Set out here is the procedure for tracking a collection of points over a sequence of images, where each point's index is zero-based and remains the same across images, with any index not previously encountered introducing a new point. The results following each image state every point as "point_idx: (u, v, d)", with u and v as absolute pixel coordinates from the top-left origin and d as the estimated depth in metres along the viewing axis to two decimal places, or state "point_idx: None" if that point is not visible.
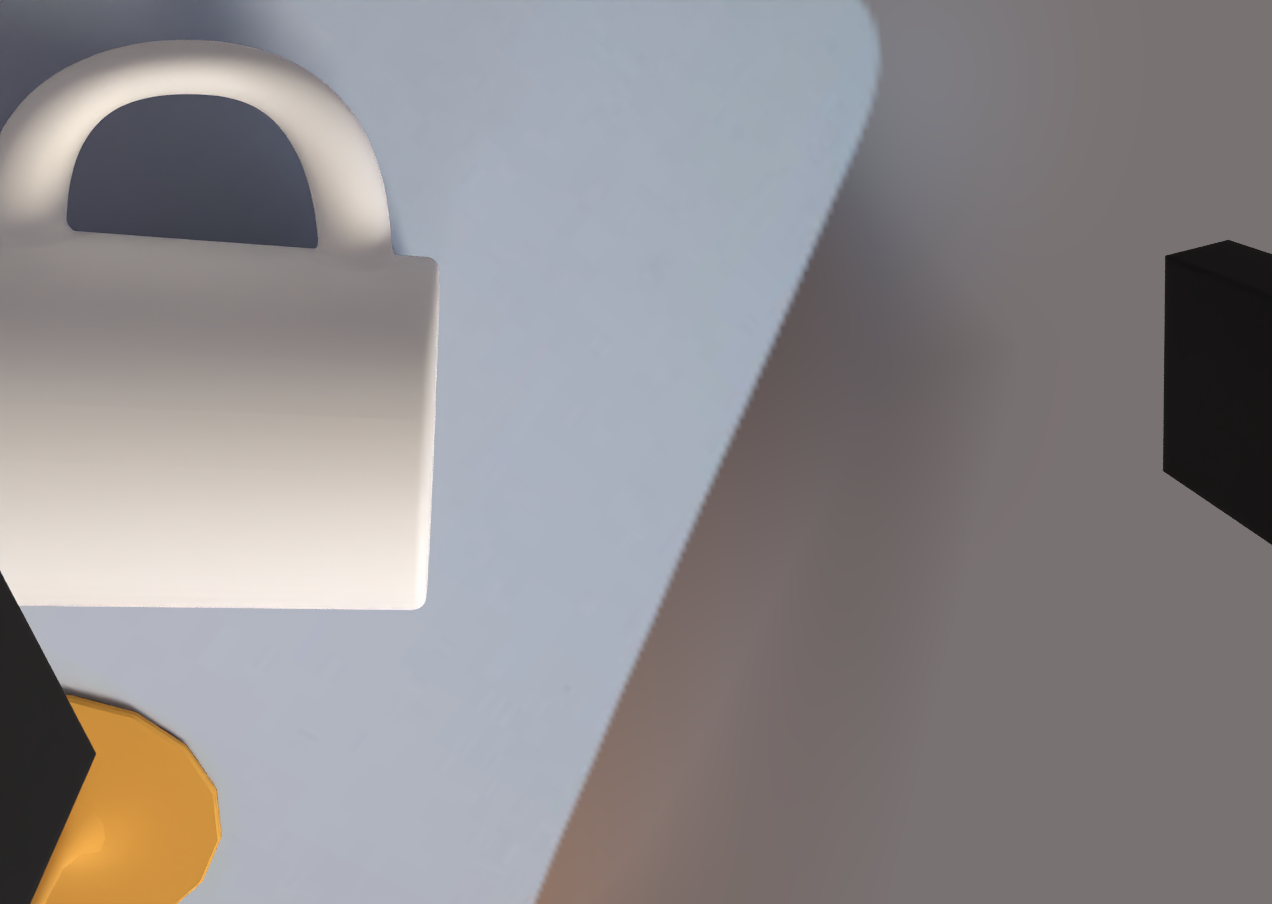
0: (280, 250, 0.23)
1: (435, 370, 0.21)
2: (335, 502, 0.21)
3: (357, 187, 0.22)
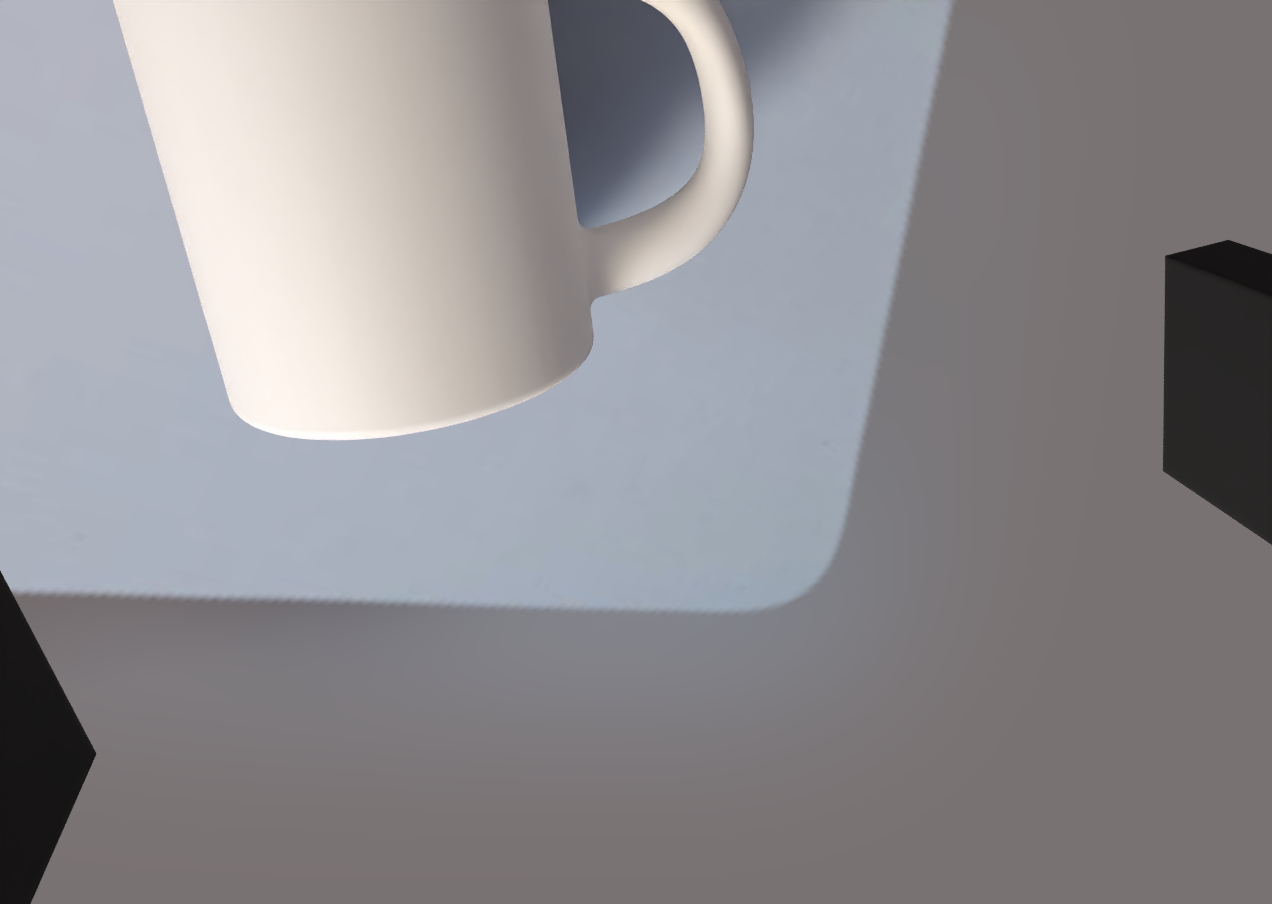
0: None
1: (540, 393, 0.22)
2: (400, 346, 0.20)
3: (658, 263, 0.24)
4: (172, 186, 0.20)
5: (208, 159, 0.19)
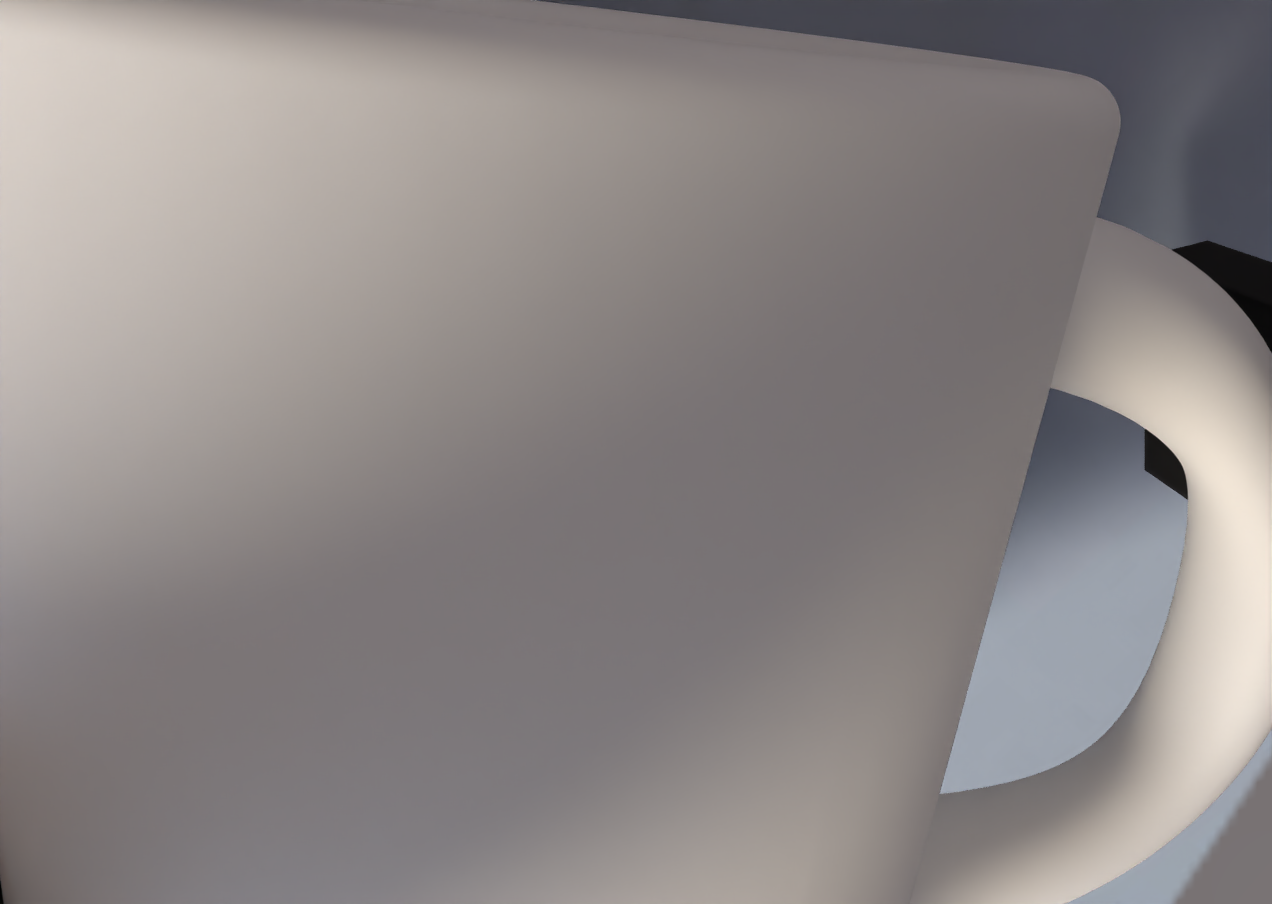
0: None
1: None
2: None
3: None
4: None
5: (80, 817, 0.06)
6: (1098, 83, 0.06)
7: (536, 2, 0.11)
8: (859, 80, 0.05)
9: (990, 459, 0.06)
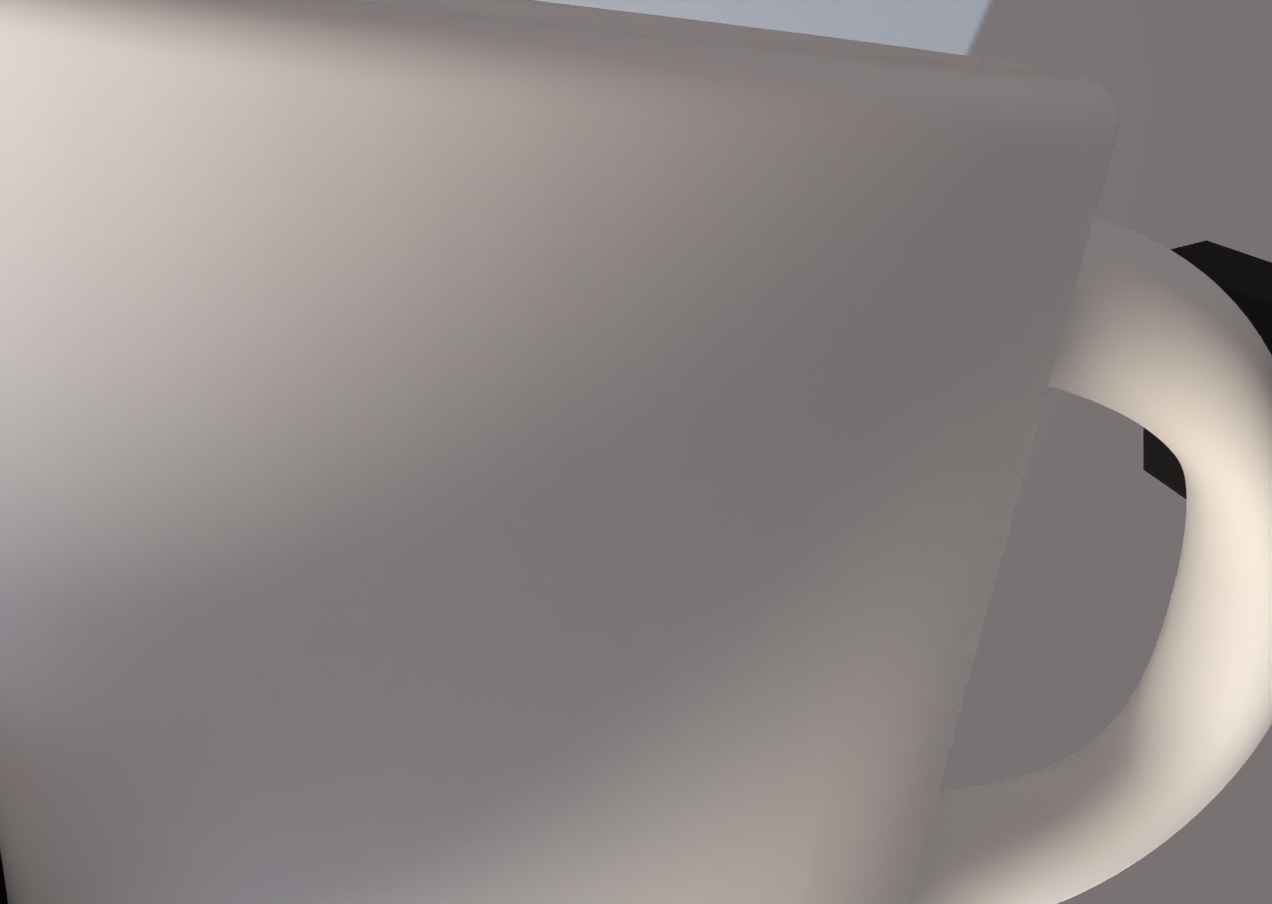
0: None
1: None
2: None
3: None
4: None
5: (85, 813, 0.06)
6: (1096, 83, 0.06)
7: (537, 2, 0.11)
8: (855, 78, 0.05)
9: (988, 455, 0.06)
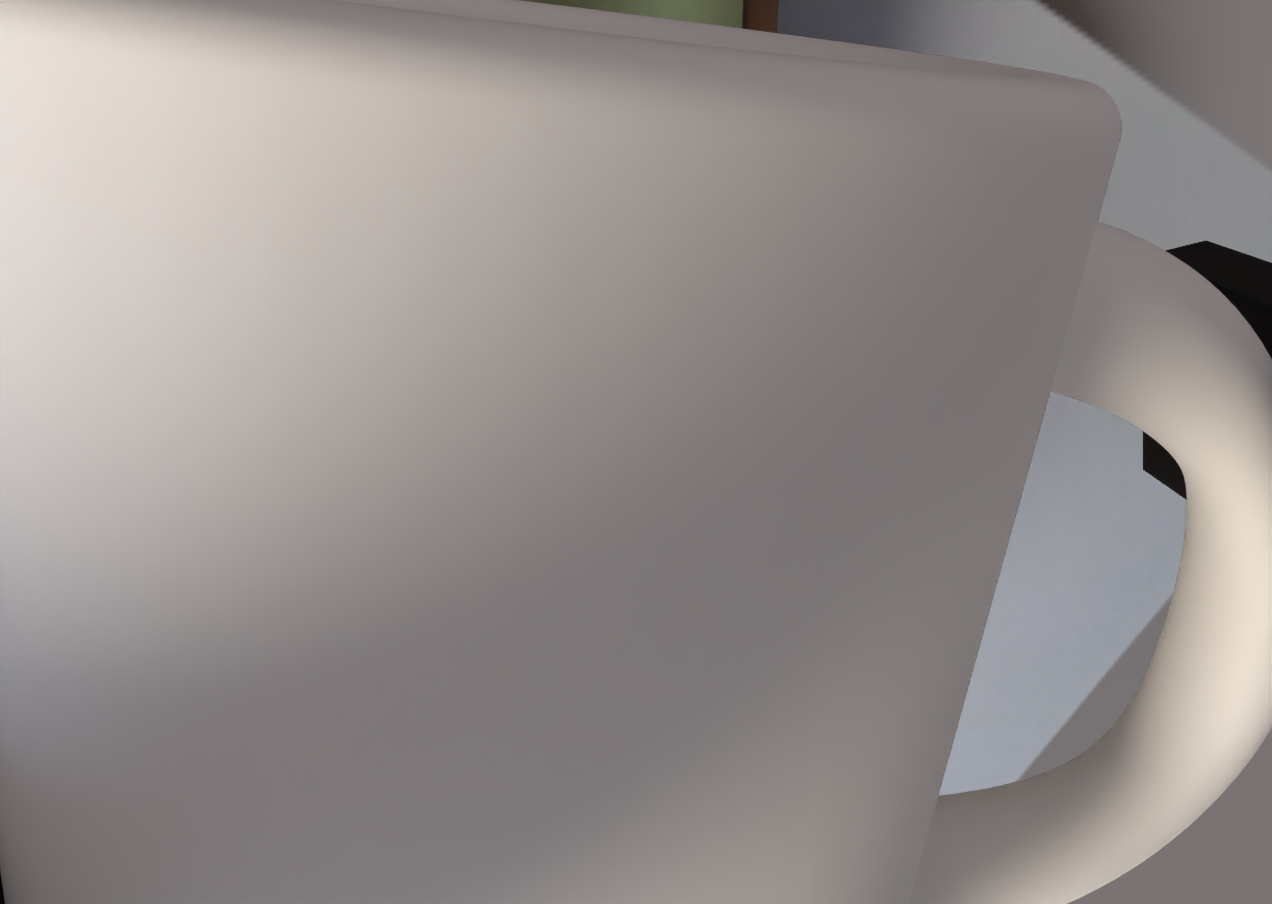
0: None
1: None
2: None
3: None
4: None
5: (83, 816, 0.06)
6: (1100, 88, 0.06)
7: (539, 4, 0.11)
8: (862, 84, 0.05)
9: (990, 460, 0.06)
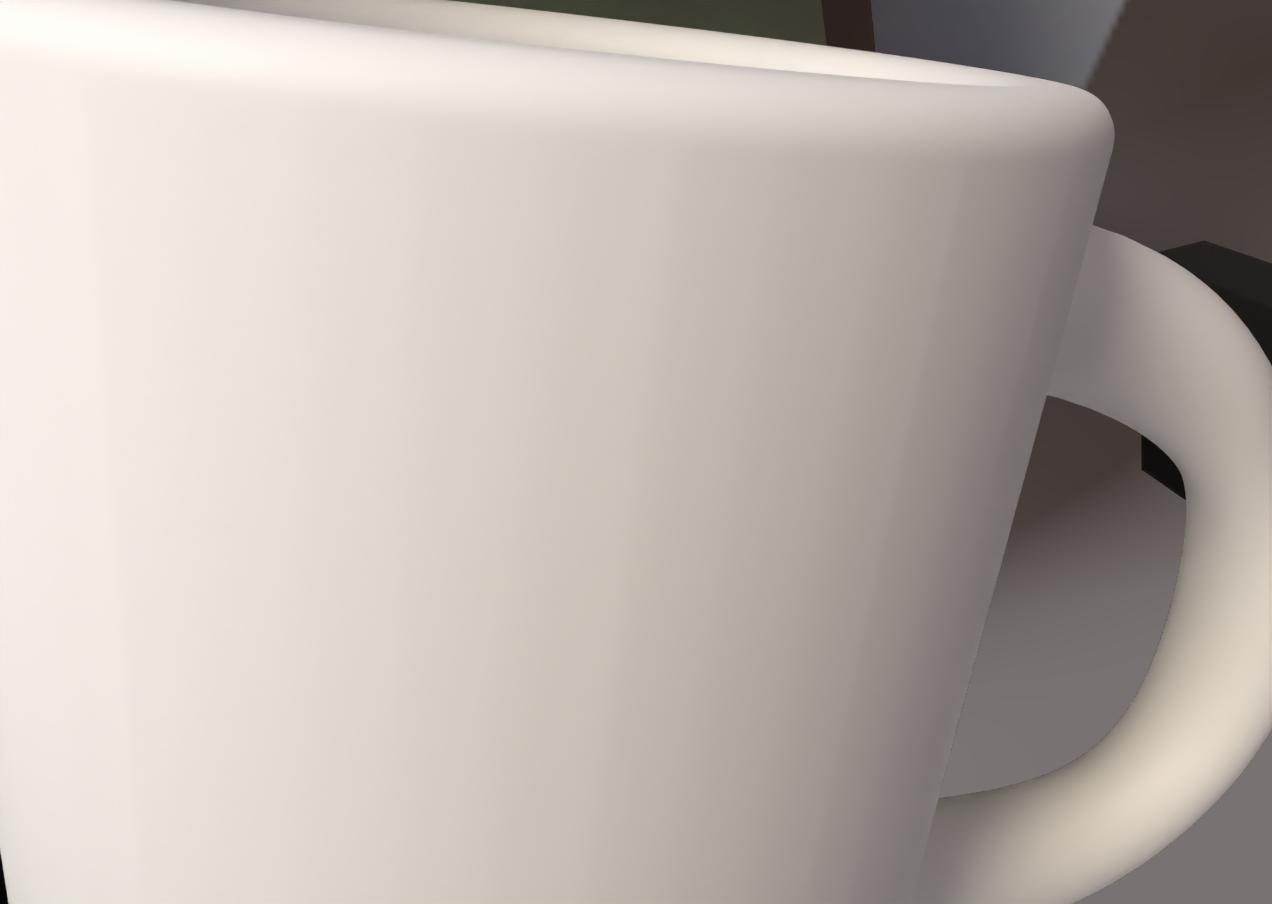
0: None
1: None
2: None
3: None
4: None
5: (85, 828, 0.06)
6: (1092, 97, 0.06)
7: (535, 11, 0.11)
8: (850, 100, 0.05)
9: (985, 471, 0.06)
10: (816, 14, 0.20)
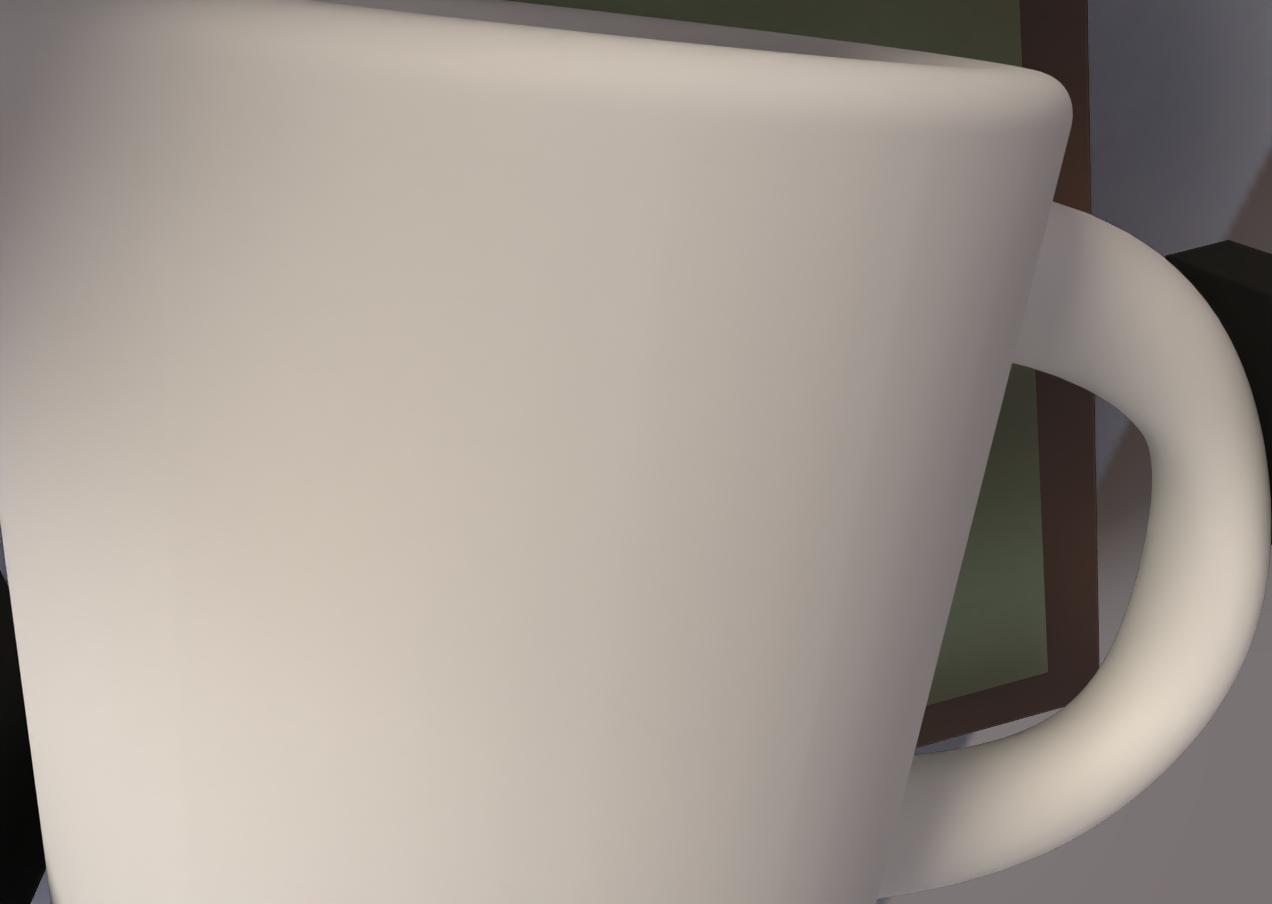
0: None
1: None
2: None
3: (992, 870, 0.12)
4: (27, 706, 0.08)
5: (128, 757, 0.07)
6: (1051, 79, 0.07)
7: (532, 5, 0.11)
8: (829, 77, 0.05)
9: (954, 421, 0.07)
10: (1011, 21, 0.13)
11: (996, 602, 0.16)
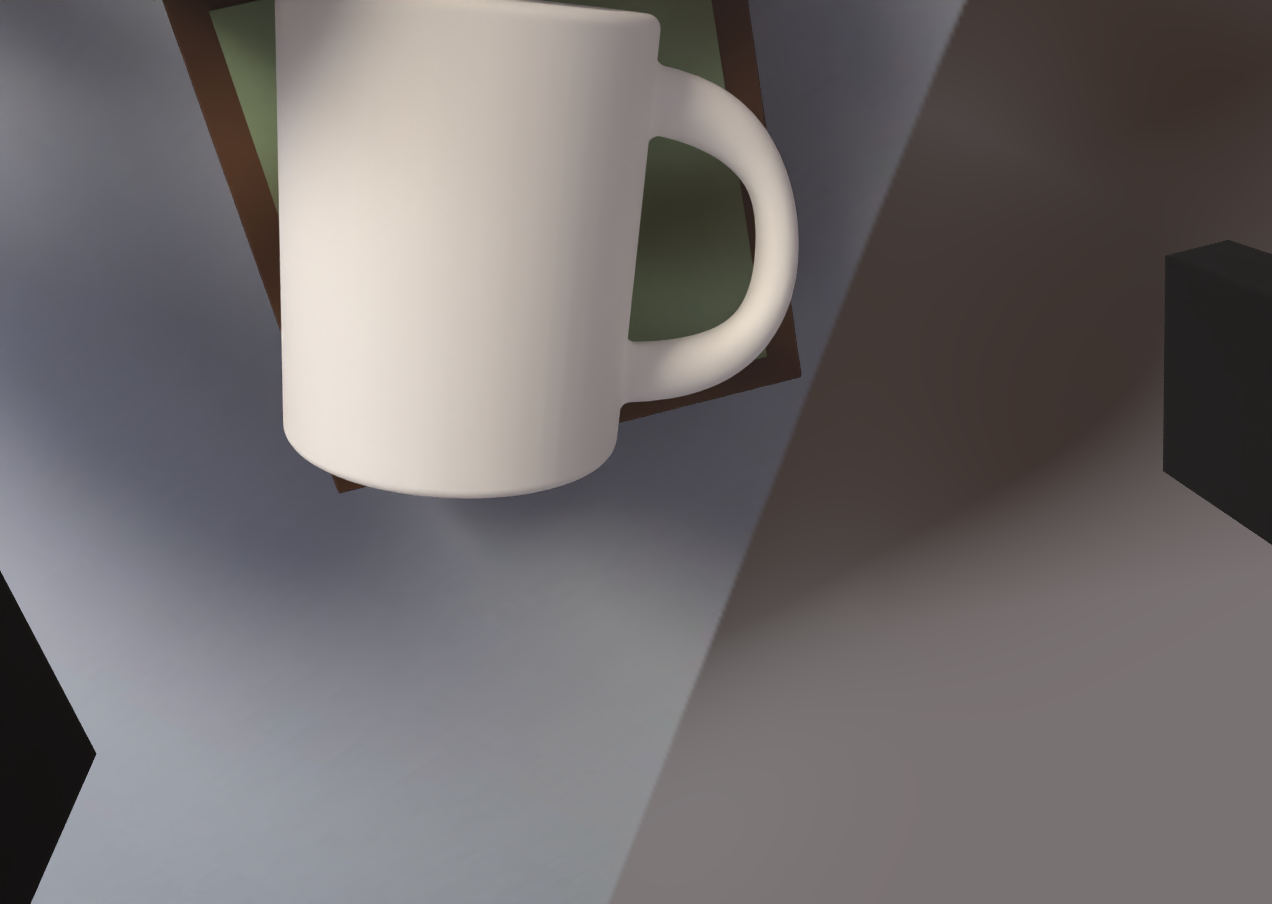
0: None
1: None
2: (466, 423, 0.22)
3: (688, 385, 0.27)
4: (290, 240, 0.23)
5: (337, 231, 0.21)
6: (636, 14, 0.22)
7: None
8: (540, 7, 0.20)
9: (601, 123, 0.21)
10: (706, 2, 0.28)
11: (733, 312, 0.31)
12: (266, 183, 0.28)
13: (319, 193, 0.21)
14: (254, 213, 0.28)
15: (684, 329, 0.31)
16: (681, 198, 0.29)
